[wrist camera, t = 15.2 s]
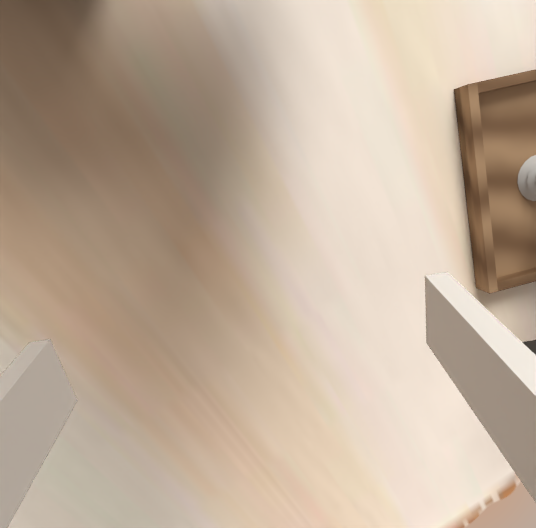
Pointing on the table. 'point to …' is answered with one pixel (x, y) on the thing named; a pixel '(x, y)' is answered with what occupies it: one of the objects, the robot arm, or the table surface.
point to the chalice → (528, 179)
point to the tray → (499, 177)
